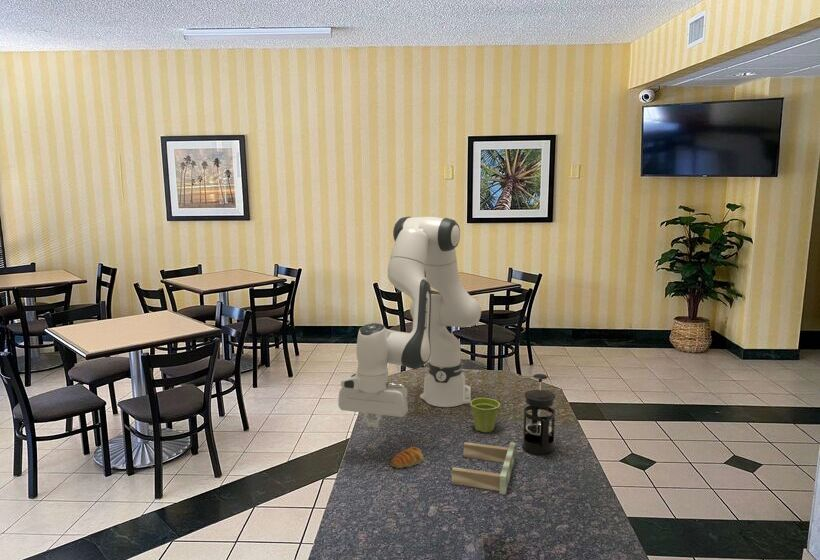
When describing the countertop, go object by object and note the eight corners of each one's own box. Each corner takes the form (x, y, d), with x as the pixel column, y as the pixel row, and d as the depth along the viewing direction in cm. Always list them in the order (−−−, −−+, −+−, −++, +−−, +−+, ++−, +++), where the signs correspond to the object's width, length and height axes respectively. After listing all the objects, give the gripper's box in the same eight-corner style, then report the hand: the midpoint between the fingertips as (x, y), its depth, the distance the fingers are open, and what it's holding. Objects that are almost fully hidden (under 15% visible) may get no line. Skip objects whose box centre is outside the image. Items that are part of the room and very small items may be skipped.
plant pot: (493, 421, 198) (493, 396, 196) (503, 433, 188) (504, 407, 187) (466, 424, 196) (466, 399, 194) (475, 436, 187) (475, 410, 185)
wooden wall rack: (465, 452, 176) (465, 436, 175) (515, 458, 172) (515, 442, 171) (450, 486, 157) (450, 469, 156) (505, 494, 153) (505, 476, 152)
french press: (517, 441, 183) (519, 369, 179) (547, 439, 184) (550, 368, 179) (529, 459, 171) (531, 383, 167) (560, 457, 172) (563, 382, 168)
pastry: (400, 473, 165) (400, 460, 164) (385, 464, 170) (385, 452, 169) (425, 462, 171) (425, 450, 170) (410, 454, 176) (410, 442, 175)
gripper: (410, 381, 169) (410, 427, 171) (344, 374, 175) (345, 419, 177) (404, 388, 163) (404, 435, 166) (335, 381, 169) (336, 427, 171)
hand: (373, 427), depth 171 cm, fingers closed
